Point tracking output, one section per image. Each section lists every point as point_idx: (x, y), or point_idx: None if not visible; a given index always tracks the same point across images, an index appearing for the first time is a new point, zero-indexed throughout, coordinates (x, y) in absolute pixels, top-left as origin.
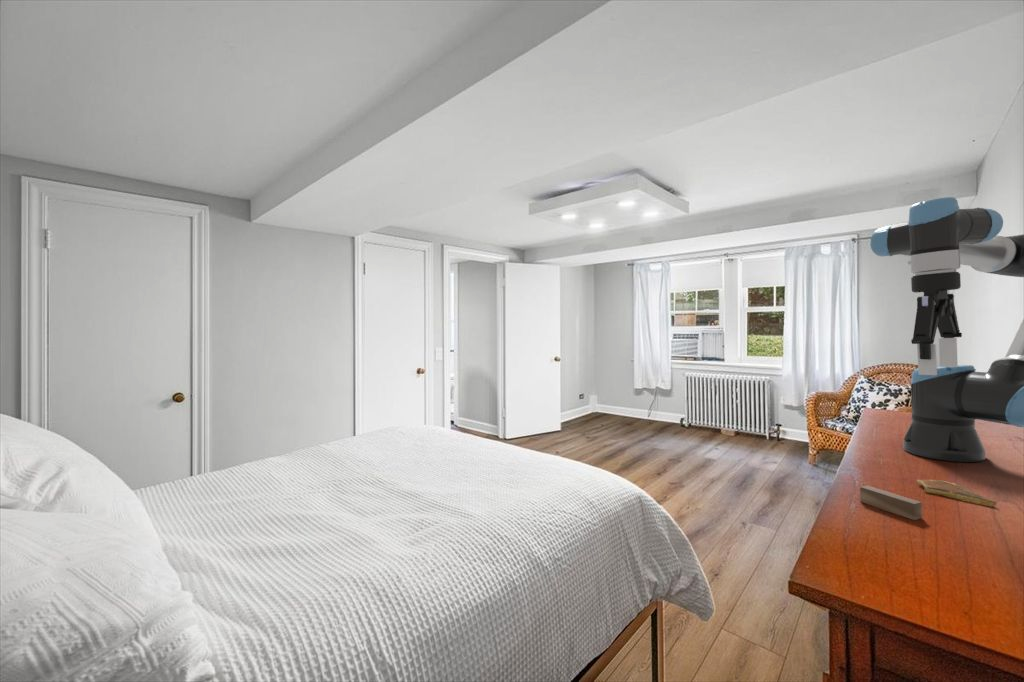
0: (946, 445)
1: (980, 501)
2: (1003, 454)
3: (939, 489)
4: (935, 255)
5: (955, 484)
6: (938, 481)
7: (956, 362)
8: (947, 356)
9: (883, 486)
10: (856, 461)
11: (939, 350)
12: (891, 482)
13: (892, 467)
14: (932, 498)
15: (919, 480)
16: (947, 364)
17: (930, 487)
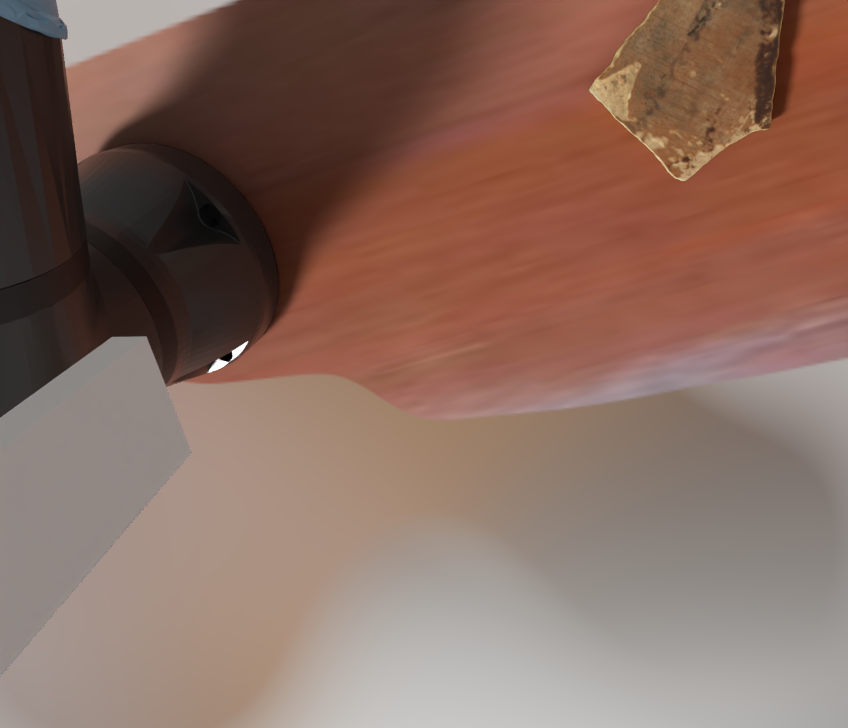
0: (219, 241)
1: None
2: None
3: (763, 78)
4: None
5: (630, 66)
6: (653, 118)
7: (107, 364)
8: (90, 478)
9: (805, 244)
10: (524, 401)
11: (65, 599)
12: (718, 244)
13: (500, 305)
14: (843, 72)
15: (688, 171)
16: (157, 416)
17: (754, 112)
